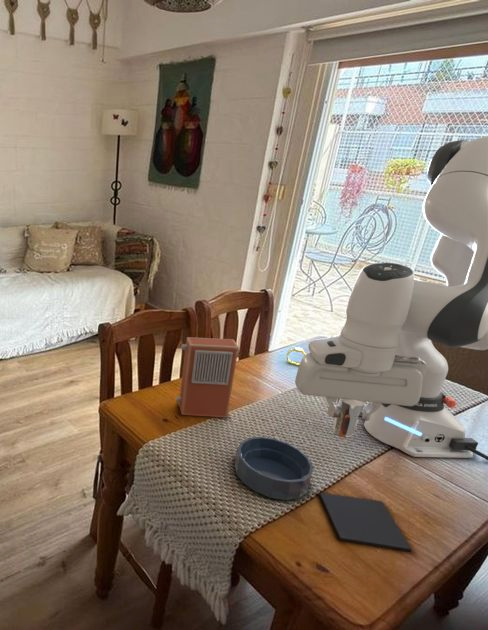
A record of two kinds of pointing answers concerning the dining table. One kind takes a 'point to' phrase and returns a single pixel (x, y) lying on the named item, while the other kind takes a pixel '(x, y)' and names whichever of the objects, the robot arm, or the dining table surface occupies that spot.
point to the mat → (363, 522)
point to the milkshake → (347, 417)
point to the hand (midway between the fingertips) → (347, 417)
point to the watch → (296, 351)
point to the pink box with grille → (207, 376)
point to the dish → (273, 468)
